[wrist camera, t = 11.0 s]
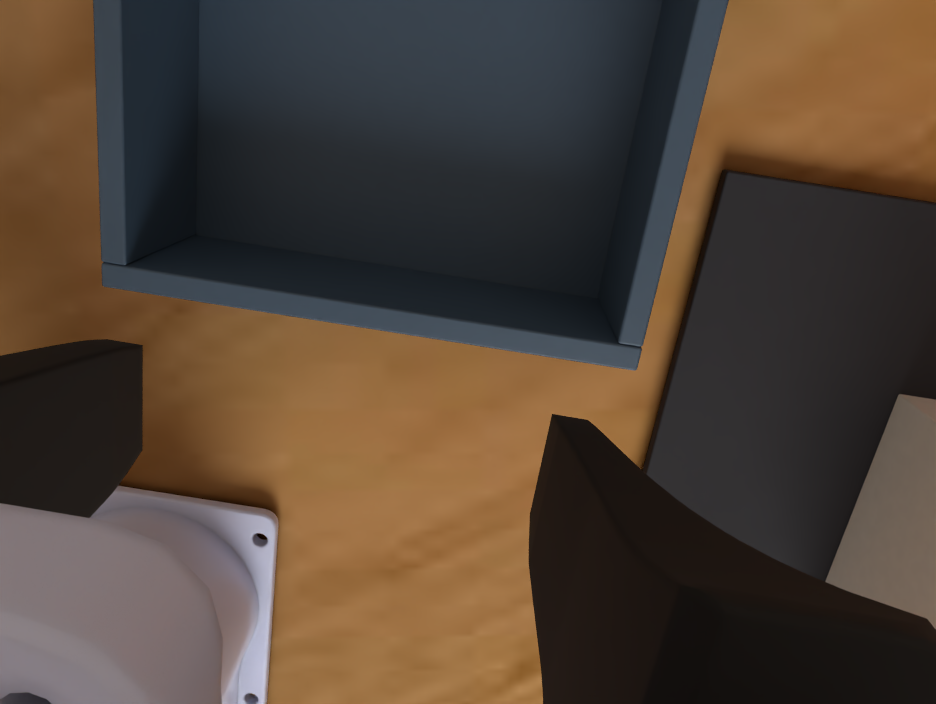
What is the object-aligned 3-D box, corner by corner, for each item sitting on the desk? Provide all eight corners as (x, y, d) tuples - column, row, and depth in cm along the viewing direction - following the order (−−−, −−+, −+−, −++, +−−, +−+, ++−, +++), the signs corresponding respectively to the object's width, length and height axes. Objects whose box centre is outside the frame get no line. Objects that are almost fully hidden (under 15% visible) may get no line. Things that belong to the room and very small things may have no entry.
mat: (974, 778, 26) (983, 791, 26) (576, 715, 26) (578, 727, 26) (1261, 254, 19) (1279, 258, 19) (722, 168, 19) (727, 170, 19)
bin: (610, 315, 21) (636, 371, 17) (184, 247, 21) (100, 287, 17) (732, -221, 17) (812, -333, 12) (190, -308, 16) (77, -451, 12)
